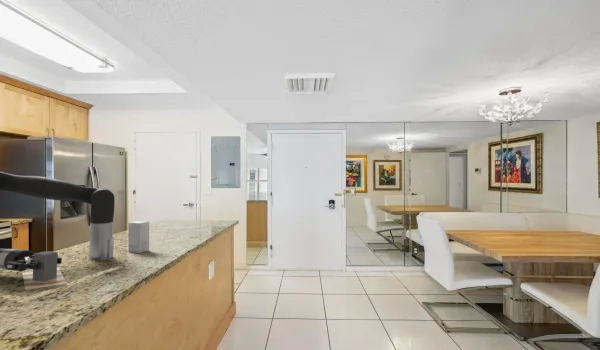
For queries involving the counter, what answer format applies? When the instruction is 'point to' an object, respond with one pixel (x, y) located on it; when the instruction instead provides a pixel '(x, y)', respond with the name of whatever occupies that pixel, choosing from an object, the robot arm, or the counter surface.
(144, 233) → the skincare box
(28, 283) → the pine board
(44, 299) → the counter surface
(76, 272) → the counter surface
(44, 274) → the block
